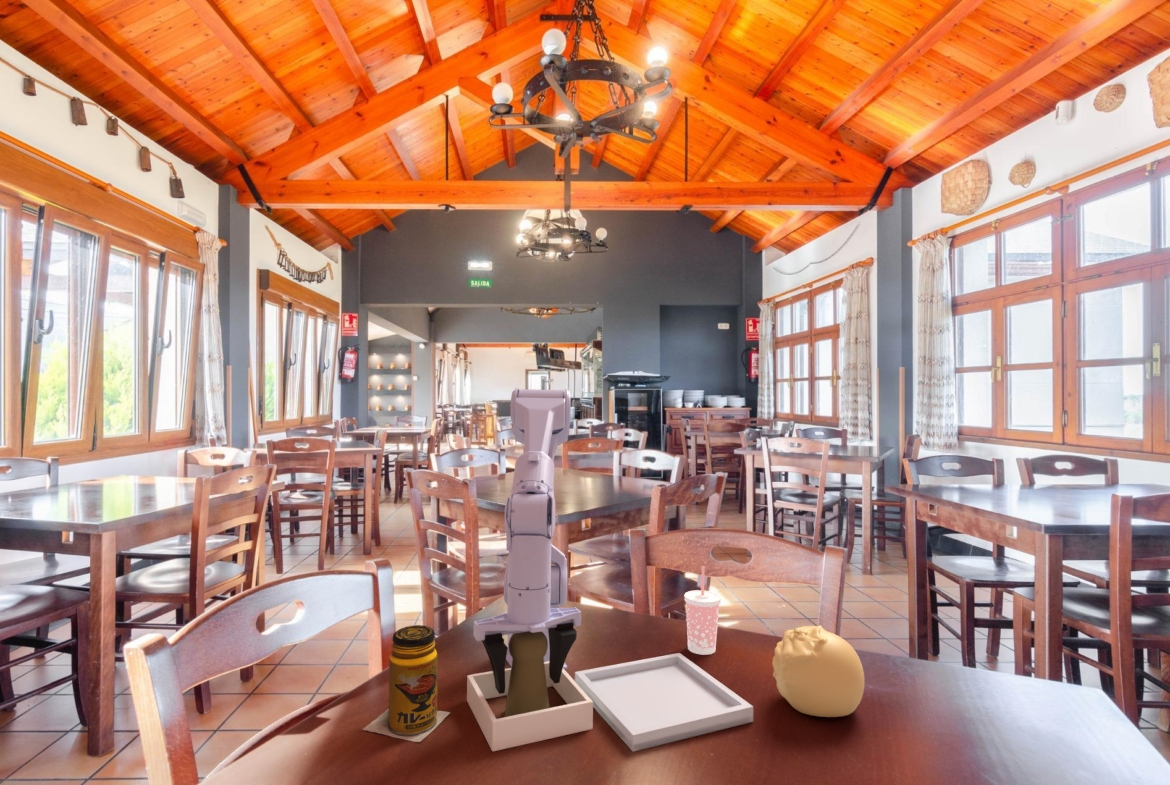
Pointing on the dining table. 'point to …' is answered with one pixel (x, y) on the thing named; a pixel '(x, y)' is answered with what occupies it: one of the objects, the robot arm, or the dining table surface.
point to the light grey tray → (662, 700)
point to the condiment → (411, 687)
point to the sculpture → (818, 672)
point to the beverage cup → (702, 619)
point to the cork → (527, 674)
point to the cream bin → (532, 723)
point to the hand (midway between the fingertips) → (527, 684)
